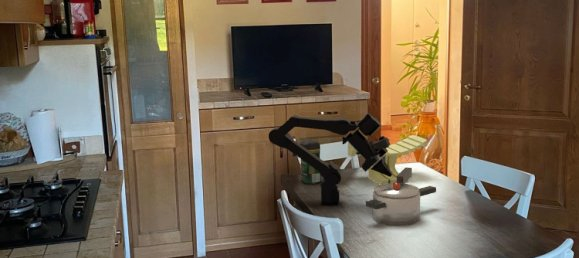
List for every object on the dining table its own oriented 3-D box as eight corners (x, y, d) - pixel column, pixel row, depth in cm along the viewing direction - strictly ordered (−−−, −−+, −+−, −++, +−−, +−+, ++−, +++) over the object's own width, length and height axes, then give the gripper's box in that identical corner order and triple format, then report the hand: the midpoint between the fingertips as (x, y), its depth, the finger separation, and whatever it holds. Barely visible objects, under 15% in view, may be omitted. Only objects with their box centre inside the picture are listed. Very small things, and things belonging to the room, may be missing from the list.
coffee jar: (298, 179, 260) (297, 138, 257) (315, 178, 262) (314, 137, 259) (305, 185, 251) (304, 142, 248) (323, 183, 253) (322, 140, 250)
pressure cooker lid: (413, 200, 193) (414, 187, 192) (368, 196, 199) (368, 183, 198) (429, 180, 217) (429, 169, 216) (388, 177, 223) (388, 166, 222)
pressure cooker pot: (388, 231, 191) (388, 205, 190) (354, 219, 204) (354, 194, 202) (450, 212, 209) (451, 188, 208) (416, 202, 222) (416, 179, 220)
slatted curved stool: (410, 172, 269) (410, 133, 266) (426, 180, 254) (427, 139, 251) (348, 177, 261) (347, 138, 258) (361, 186, 246) (361, 144, 243)
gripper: (370, 134, 207) (401, 167, 204) (382, 126, 224) (411, 156, 222) (349, 155, 211) (379, 187, 209) (362, 145, 228) (390, 175, 226)
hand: (391, 175), depth 216 cm, fingers closed
